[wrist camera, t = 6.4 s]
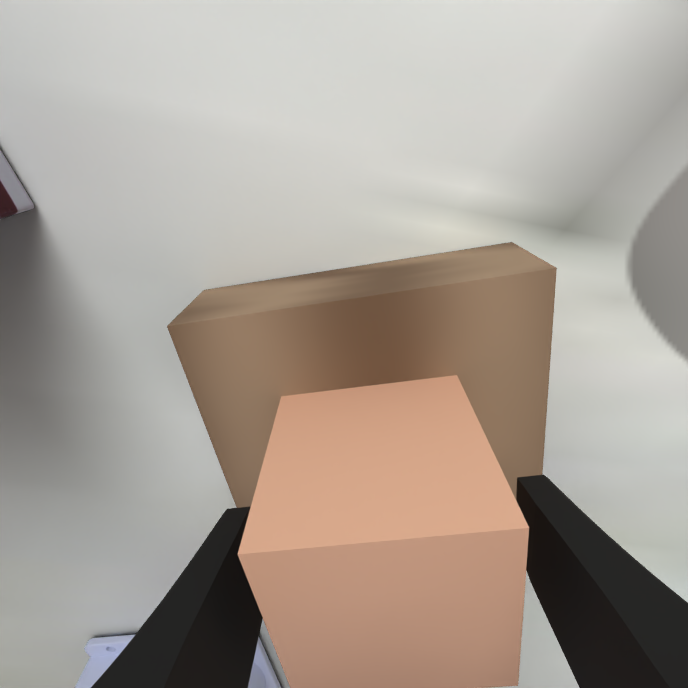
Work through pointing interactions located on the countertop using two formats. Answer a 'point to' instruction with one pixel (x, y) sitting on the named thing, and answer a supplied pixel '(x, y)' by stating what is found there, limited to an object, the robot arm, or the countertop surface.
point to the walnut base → (375, 347)
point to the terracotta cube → (387, 541)
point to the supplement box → (11, 192)
